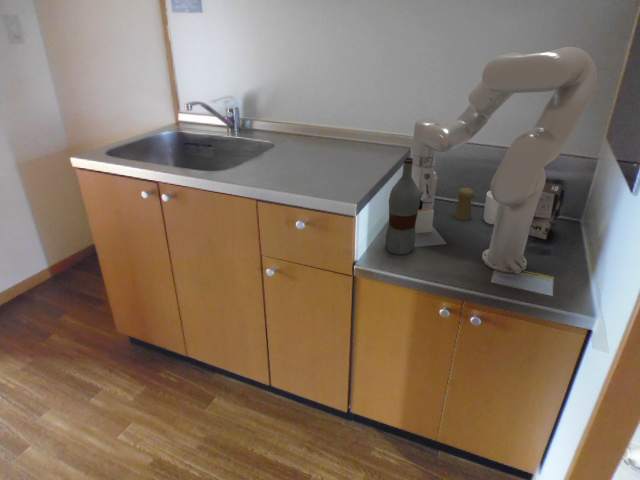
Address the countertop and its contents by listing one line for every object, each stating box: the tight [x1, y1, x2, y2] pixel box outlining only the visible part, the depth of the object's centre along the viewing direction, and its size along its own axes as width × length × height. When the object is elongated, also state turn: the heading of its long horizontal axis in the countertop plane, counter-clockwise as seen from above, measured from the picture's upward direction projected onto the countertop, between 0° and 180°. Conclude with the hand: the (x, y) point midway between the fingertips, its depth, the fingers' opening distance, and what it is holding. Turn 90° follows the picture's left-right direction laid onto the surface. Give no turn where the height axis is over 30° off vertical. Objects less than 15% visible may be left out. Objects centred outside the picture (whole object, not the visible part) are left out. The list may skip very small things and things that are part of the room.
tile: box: [415, 208, 435, 233], centre depth 147 cm, size 2×7×8 cm, turn 99°
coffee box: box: [528, 181, 563, 240], centre depth 145 cm, size 9×6×16 cm
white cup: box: [482, 190, 499, 226], centre depth 154 cm, size 8×8×10 cm
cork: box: [453, 187, 475, 221], centre depth 155 cm, size 6×6×11 cm
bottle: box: [385, 156, 420, 256], centre depth 133 cm, size 9×9×30 cm
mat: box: [413, 225, 447, 248], centre depth 147 cm, size 14×11×1 cm
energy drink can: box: [422, 170, 438, 210], centre depth 160 cm, size 6×6×15 cm
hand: (416, 210), depth 150 cm, fingers closed
